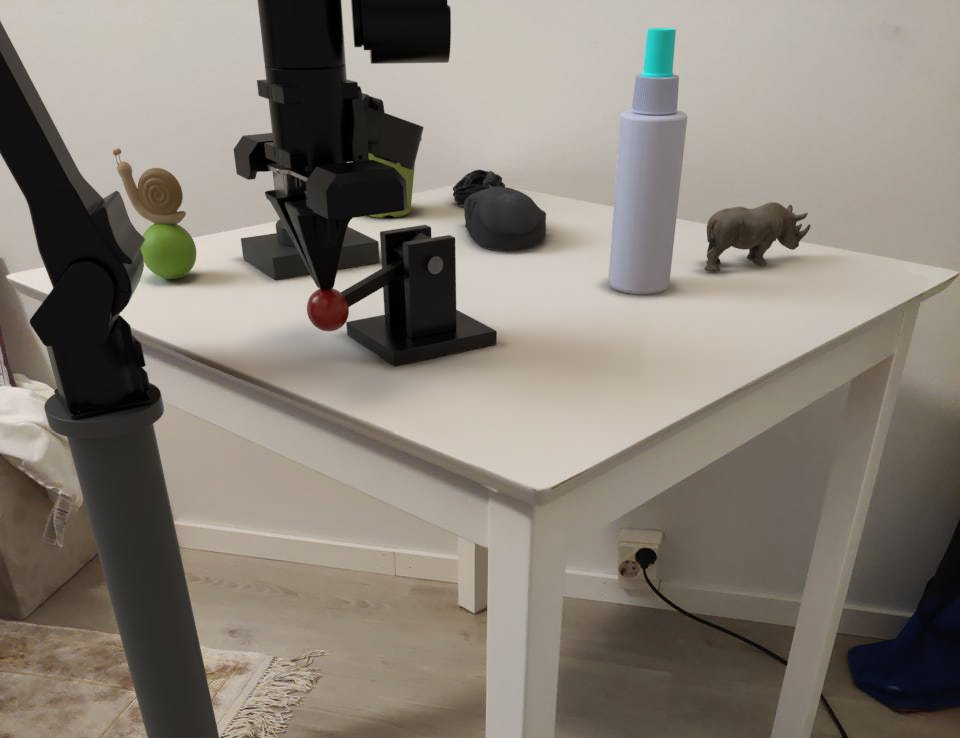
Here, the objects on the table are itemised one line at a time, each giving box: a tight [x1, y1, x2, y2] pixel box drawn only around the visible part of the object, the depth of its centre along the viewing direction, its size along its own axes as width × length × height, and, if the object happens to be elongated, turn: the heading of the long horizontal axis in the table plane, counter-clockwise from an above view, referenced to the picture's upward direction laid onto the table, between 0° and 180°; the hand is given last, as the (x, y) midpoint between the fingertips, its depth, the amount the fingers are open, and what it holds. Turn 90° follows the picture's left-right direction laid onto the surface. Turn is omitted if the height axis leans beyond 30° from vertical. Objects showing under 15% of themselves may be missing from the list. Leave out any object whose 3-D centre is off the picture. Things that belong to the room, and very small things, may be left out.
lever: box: [306, 233, 432, 332], centre depth 81 cm, size 12×3×3 cm, turn 122°
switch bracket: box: [345, 224, 498, 367], centre depth 84 cm, size 10×9×9 cm
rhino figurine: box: [703, 201, 811, 273], centre depth 104 cm, size 4×14×6 cm, turn 114°
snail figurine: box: [112, 147, 197, 280], centre depth 98 cm, size 5×6×12 cm
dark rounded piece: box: [452, 169, 547, 252], centre depth 120 cm, size 10×32×6 cm, turn 8°
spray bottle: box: [608, 27, 688, 295], centre depth 92 cm, size 6×6×22 cm
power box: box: [240, 219, 381, 281], centre depth 105 cm, size 12×9×4 cm
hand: (325, 288), depth 79 cm, fingers closed, pressing on lever
